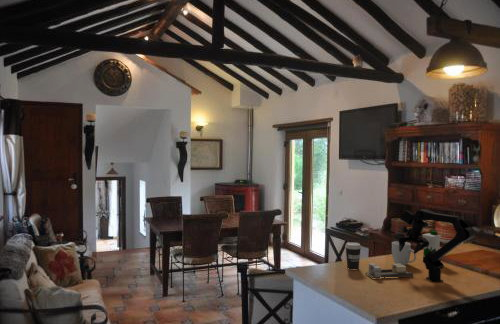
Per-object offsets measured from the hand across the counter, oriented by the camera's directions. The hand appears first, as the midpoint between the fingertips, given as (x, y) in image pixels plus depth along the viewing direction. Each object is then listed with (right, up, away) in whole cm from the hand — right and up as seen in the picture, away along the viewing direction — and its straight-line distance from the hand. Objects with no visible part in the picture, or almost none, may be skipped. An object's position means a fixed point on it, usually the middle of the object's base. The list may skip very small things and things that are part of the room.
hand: (406, 252), depth 230 cm
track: (-13, -12, -6) cm, 18 cm away
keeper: (-7, -11, -5) cm, 14 cm away
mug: (+4, -11, +16) cm, 20 cm away
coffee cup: (-30, -12, +7) cm, 33 cm away
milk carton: (+22, -11, +18) cm, 31 cm away
